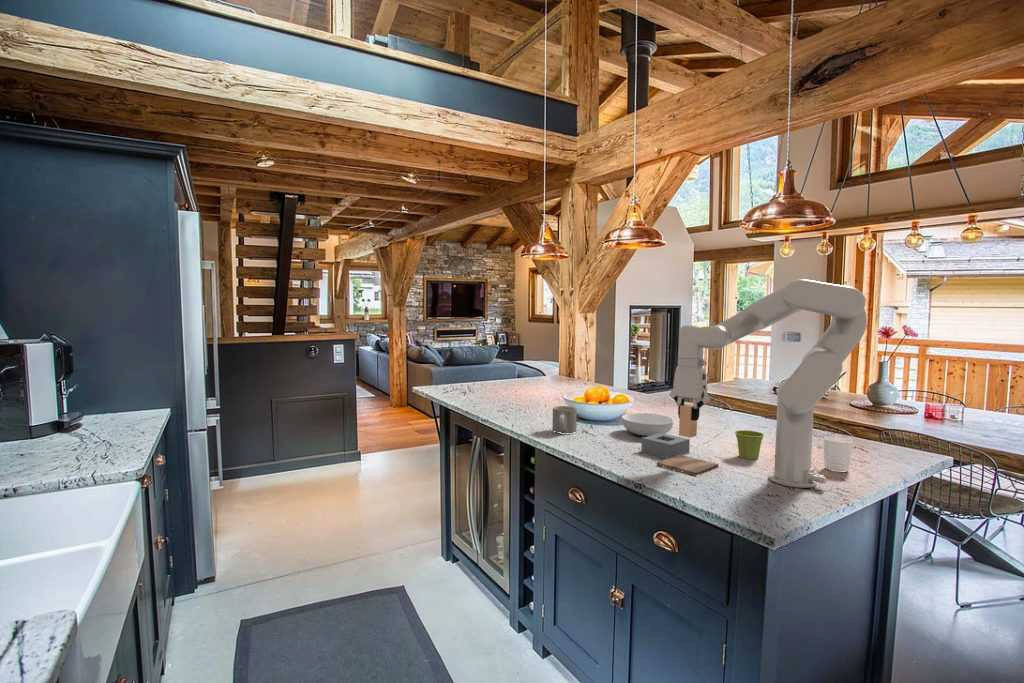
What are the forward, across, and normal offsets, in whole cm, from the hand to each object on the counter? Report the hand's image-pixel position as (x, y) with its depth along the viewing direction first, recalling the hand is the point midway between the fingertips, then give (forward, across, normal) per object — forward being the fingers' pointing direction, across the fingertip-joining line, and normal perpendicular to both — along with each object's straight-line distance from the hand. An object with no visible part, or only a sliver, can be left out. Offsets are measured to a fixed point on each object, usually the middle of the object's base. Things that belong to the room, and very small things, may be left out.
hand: (688, 418), depth 165 cm
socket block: (+16, +14, -9) cm, 23 cm away
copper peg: (+6, 0, 0) cm, 6 cm away
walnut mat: (+16, 0, 0) cm, 16 cm away
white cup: (+16, -33, -35) cm, 51 cm away
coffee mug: (+17, +58, -2) cm, 60 cm away
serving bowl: (+16, +34, -27) cm, 46 cm away
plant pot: (+16, -9, -26) cm, 32 cm away
